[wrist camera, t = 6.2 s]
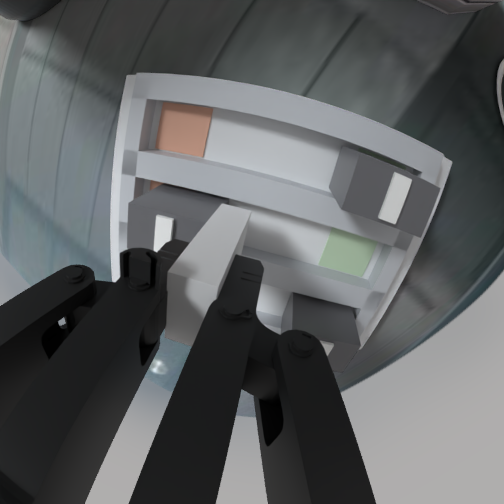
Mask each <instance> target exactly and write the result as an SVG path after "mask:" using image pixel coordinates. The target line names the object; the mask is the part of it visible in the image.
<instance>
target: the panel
mask: <svg viewBox="0 0 504 504" xmlns="http://www.w3.org/2000/svg"><path fill="white" fill-rule="evenodd" d="M341 145H342V146H345V147H348V148H351V149H354V150H356V151H359V152H362V153H365V154H367V155H370V156H372V157H375V158H377V159H380V160H382V161H385V162H387V163H390V164H392V165H394V166H397V167H399V168H401V169H404V170H406V171H408V172H410V173H412V174H414V175H416V176H418V177H420V178H422V179H424V180H426V181H428V182H430V183H432V184H434V185H436V186H438V187H439V188H441V189H440V192H439V195H438V197H437V200H436V203H435V205H434V208H433V210H432V213H431V215H430V218H429V220H428V222H427V225H426V227H425V229H424V232H423V234H422V236H421V238H420V237H417V236H415V235H412V234H409V233H407V232H404V231H401V230H399V229H396V228H393V227H390V226H388V225H385V224H382V223H379V222H376V221H374V220H371V219H368V218H365V217H362V216H359V215H356V214H353V213H350V212H347V211H344V210H341V208H340V207H339V205H338V203H337V201H336V199H335V198H334V196H333V194H332V192H331V191H330V189H329V184H330V181H331V178H332V175H333V172H334V168H335V165H336V162H337V159H338V155H339V152H340V149H341ZM443 156H444V154H443V153H441V152H439V151H437V150H435V149H433V148H432V147H430V146H428V145H426V144H424V143H422V142H420V141H418V140H416V139H414V138H412V137H410V136H408V135H406V134H404V133H401V132H399V131H397V130H395V129H393V128H390V127H388V126H386V125H383V124H381V123H379V122H376V121H374V120H371V119H369V118H366V117H364V116H361V115H358V114H356V113H353V112H350V111H347V110H345V109H342V108H339V107H336V106H333V105H330V104H327V103H323V102H320V101H317V100H314V99H310V98H307V97H303V96H300V95H296V94H292V93H288V92H284V91H280V90H276V89H271V88H267V87H262V86H257V85H252V84H247V83H242V82H236V81H230V80H223V79H216V78H209V77H200V76H191V75H179V74H164V73H137V75H127V77H126V81H125V86H124V91H123V96H122V102H121V108H120V114H119V120H118V127H117V134H116V142H115V151H114V161H113V173H112V189H111V221H110V236H111V268H112V281H113V282H116V281H117V280H118V279H119V278H120V253H121V252H122V251H124V250H126V249H127V223H128V203H129V202H131V201H133V200H134V199H136V198H138V197H140V196H141V195H143V194H145V193H147V192H148V191H150V190H152V189H154V188H156V187H158V186H160V185H161V184H163V183H166V184H171V185H175V186H180V187H184V188H188V189H193V190H197V191H201V192H205V193H209V194H213V195H217V196H222V197H226V198H229V204H228V205H231V206H235V207H239V208H243V209H246V210H250V211H252V212H251V216H250V220H249V224H248V228H247V232H246V237H245V241H244V245H243V249H242V253H241V256H244V257H248V258H252V259H256V260H259V261H261V263H262V265H263V267H264V273H263V277H262V283H261V288H260V293H259V298H258V303H257V308H256V314H257V316H258V319H259V320H260V321H261V323H262V324H263V325H265V326H266V327H267V328H269V329H270V330H272V331H274V332H276V333H278V334H280V335H281V323H282V315H283V313H284V310H285V307H286V305H287V302H288V300H289V297H290V295H291V292H295V293H299V294H303V295H307V296H311V297H315V298H319V299H323V300H327V301H331V302H335V303H339V304H343V305H347V306H351V307H352V310H353V314H354V318H355V322H356V326H357V330H358V335H359V339H360V343H361V347H360V348H359V350H361V349H362V347H363V346H364V344H365V343H366V341H367V340H368V338H369V337H370V335H371V334H372V332H373V331H374V329H375V327H376V326H377V324H378V323H379V321H380V319H381V318H382V316H383V314H384V313H385V311H386V309H387V308H388V306H389V304H390V303H391V301H392V299H393V297H394V296H395V294H396V292H397V290H398V288H399V287H400V285H401V283H402V281H403V279H404V277H405V275H406V273H407V271H408V269H409V267H410V266H411V264H412V261H413V259H414V257H415V255H416V253H417V251H418V249H419V247H420V245H421V243H422V240H423V238H424V236H425V234H426V231H427V229H428V227H429V224H430V222H431V220H432V217H433V215H434V212H435V210H436V207H437V205H438V202H439V199H440V197H441V194H442V191H443V189H444V186H445V183H446V180H447V177H448V174H449V171H450V168H451V165H452V161H450V160H449V159H447V158H445V157H443Z"/></svg>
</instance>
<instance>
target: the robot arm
mask: <svg viewBox="0 0 504 504" xmlns="http://www.w3.org/2000/svg"><path fill="white" fill-rule="evenodd" d="M59 1H60V0H0V15H1V16H3V17H4V18H6V19H10V20H19V21H28V20H31V19H34V18H36V17H38V16H40V15H41V14H43V13H44V12H46V11H47V10H49V9H50V8H51V7H53V6H54V5H55V4H56V3H58V2H59ZM251 212H252V211H250V210H246V209H243V208H239V207H235V206H231V205H227V204H223V203H222V204H221V205H220V206H219V208H218V209H217V210H216V211H215V212H214V214H213V215H212V216H211V217H210V219H209V220H208V221H207V222H206V223H205V225H204V226H203V227H202V228H201V230H200V231H199V232H198V233H197V235H196V236H195V237H194V238H193V240H192V241H191V242H190V243H189V242H186V241H182V240H178V239H174V240H171V241H169V242H166V243H165V244H164V245H163V246H162V247H161V248H160V250H158V252H155V251H153V250H150V249H146V248H130V249H126V250H124V251H122V252H121V253H120V278H119V279H118V280H117V281H116V282H106V281H98V280H95V276H94V271H93V270H92V269H91V268H89V267H87V266H85V265H70V266H67V267H65V268H63V269H61V270H59V271H57V272H56V273H54V274H52V275H50V276H49V277H47V278H45V279H43V280H42V281H40V282H38V283H37V284H35V285H33V286H32V287H30V288H28V289H27V290H25V291H23V292H22V293H20V294H19V295H17V296H15V297H14V298H12V299H10V300H9V301H7V302H6V303H4V304H3V305H1V306H0V504H85V501H86V499H87V497H88V495H89V492H90V490H91V488H92V485H93V483H94V481H95V478H96V476H97V474H98V472H99V469H100V467H101V465H102V463H103V461H104V458H105V456H106V454H107V452H108V449H109V448H110V445H111V443H112V441H113V439H114V437H115V435H116V433H117V431H118V428H119V426H120V424H121V422H122V420H123V418H124V416H125V414H126V412H127V410H128V408H129V406H130V404H131V402H132V400H133V398H134V396H135V394H136V392H137V390H138V388H139V386H140V384H141V382H142V380H143V378H144V376H145V374H146V372H147V370H148V368H149V366H150V364H151V363H152V361H153V359H154V357H155V355H156V353H157V351H158V349H159V345H160V335H161V334H162V332H163V330H164V328H165V338H168V339H171V340H174V341H177V342H180V343H183V344H186V345H189V346H192V348H191V350H190V353H189V355H188V357H187V360H186V362H185V364H184V367H183V369H182V372H181V374H180V376H179V379H178V381H177V384H176V386H175V388H174V391H173V393H172V396H171V398H170V400H169V403H168V406H167V408H166V410H165V413H164V415H163V418H162V420H161V423H160V425H159V428H158V430H157V432H156V435H155V438H154V440H153V443H152V445H151V448H150V450H149V453H148V455H147V458H146V460H145V463H144V465H143V468H142V470H141V473H140V476H139V478H138V481H137V483H136V486H135V489H134V491H133V494H132V496H131V499H130V502H129V504H216V499H217V495H218V491H219V487H220V482H221V478H222V473H223V470H224V465H225V461H226V457H227V452H228V447H229V443H230V439H231V435H232V429H233V425H234V421H235V416H236V412H237V407H238V403H239V398H240V393H241V389H243V390H244V391H246V392H248V393H250V394H252V395H254V404H255V412H256V420H257V427H258V435H259V443H260V450H261V457H262V465H263V472H264V479H265V487H266V493H267V500H268V504H376V502H375V498H374V495H373V492H372V488H371V485H370V482H369V478H368V475H367V472H366V469H365V465H364V462H363V459H362V456H361V453H360V450H359V447H358V444H357V440H356V437H355V434H354V432H353V428H352V425H351V422H350V419H349V417H348V414H347V411H346V408H345V405H344V402H343V400H342V396H341V393H340V391H339V388H338V385H337V382H336V379H335V377H334V374H333V371H332V368H331V366H330V363H329V360H328V357H327V355H326V352H325V349H324V347H323V345H322V344H321V342H320V341H319V340H318V339H317V338H316V337H315V336H314V335H312V334H310V333H308V332H306V331H302V330H297V329H295V330H287V331H285V332H283V333H281V335H280V334H278V333H276V332H274V331H272V330H270V329H269V328H267V327H266V326H265V325H263V324H262V323H261V321H260V320H259V319H258V316H257V314H256V308H257V303H258V298H259V293H260V288H261V283H262V277H263V273H264V267H263V265H262V263H261V261H259V260H256V259H252V258H248V257H244V256H241V253H242V249H243V245H244V241H245V237H246V232H247V228H248V224H249V220H250V216H251ZM63 317H64V318H65V322H66V324H64V325H62V326H59V324H58V321H59V320H60V319H62V318H63Z"/></svg>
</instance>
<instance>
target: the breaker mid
mask: <svg viewBox="0 0 504 504" xmlns="http://www.w3.org/2000/svg"><path fill="white" fill-rule="evenodd" d="M222 203H223V204H227V205H228V204H229V198H226V197H222V196H217V195H213V194H209V193H205V192H201V191H197V190H193V189H188V188H184V187H180V186H175V185H171V184H166V183H163V184H161V185H160V186H158V187H156V188H154V189H152V190H150V191H148V192H147V193H145V194H143V195H141V196H140V197H138V198H136V199H134V200H133V201H131V202H129V203H128V223H127V249H130V248H146V249H150V250H153V251H155V252H158V250H160V248H161V247H162V246H163V245H164V244H165V243H166V242H169V241H171V240H174V239H178V240H182V241H186V242H189V243H190V242H191V241H192V240H193V238H194V237H195V236H196V235H197V233H198V232H199V231H200V230H201V228H202V227H203V226H204V225H205V223H206V222H207V221H208V220H209V219H210V217H211V216H212V215H213V214H214V212H215V211H216V210H217V209H218V208H219V206H220V205H221V204H222Z"/></svg>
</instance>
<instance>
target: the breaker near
mask: <svg viewBox="0 0 504 504" xmlns="http://www.w3.org/2000/svg"><path fill="white" fill-rule="evenodd" d="M329 189H330V191H331V192H332V194H333V196H334V198H335V199H336V201H337V203H338V205H339V207H340V208H341V210H344V211H347V212H350V213H353V214H356V215H359V216H362V217H365V218H368V219H371V220H374V221H376V222H379V223H382V224H385V225H388V226H390V227H393V228H396V229H399V230H401V231H404V232H407V233H409V234H412V235H415V236H417V237H420V238H421V236H422V234H423V232H424V229H425V227H426V225H427V222H428V220H429V218H430V215H431V213H432V210H433V208H434V205H435V203H436V200H437V197H438V195H439V192H440V189H441V188H439V187H438V186H436V185H434V184H432V183H430V182H428V181H426V180H424V179H422V178H420V177H418V176H416V175H414V174H412V173H410V172H408V171H406V170H404V169H401V168H399V167H397V166H394V165H392V164H390V163H387V162H385V161H382V160H380V159H377V158H375V157H372V156H370V155H367V154H365V153H362V152H359V151H356V150H354V149H351V148H348V147H345V146H342V145H341V149H340V152H339V155H338V159H337V162H336V165H335V168H334V172H333V175H332V178H331V181H330V184H329Z"/></svg>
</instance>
